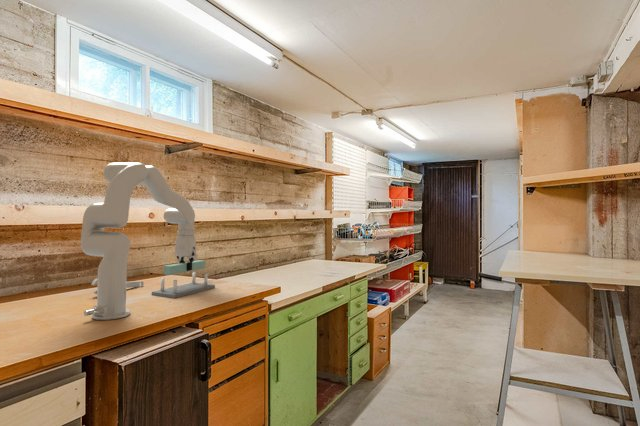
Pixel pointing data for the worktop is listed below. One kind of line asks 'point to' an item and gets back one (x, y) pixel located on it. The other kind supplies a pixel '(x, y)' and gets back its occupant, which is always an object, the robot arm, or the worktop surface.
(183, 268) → the bar
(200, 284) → the stand
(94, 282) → the wrench
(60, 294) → the worktop surface
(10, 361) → the worktop surface
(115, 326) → the worktop surface
